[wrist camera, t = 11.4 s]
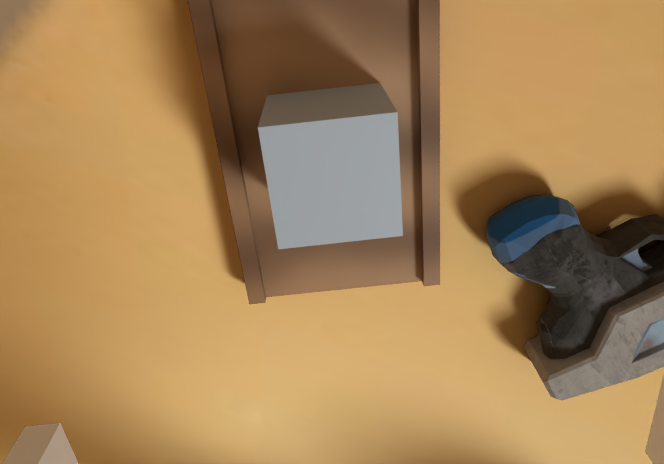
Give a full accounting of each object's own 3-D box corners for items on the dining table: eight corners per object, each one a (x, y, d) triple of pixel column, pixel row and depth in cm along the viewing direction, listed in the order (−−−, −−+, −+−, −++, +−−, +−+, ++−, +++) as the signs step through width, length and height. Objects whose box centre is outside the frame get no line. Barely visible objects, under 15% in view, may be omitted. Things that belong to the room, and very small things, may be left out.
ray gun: (472, 255, 30) (561, 416, 36) (821, 75, 26) (855, 290, 32) (453, 221, 34) (537, 372, 40) (756, 60, 30) (798, 255, 36)
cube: (386, 187, 31) (402, 235, 25) (283, 199, 31) (278, 249, 25) (380, 82, 28) (397, 112, 23) (266, 95, 28) (257, 127, 23)
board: (433, 269, 35) (439, 284, 33) (251, 288, 35) (249, 304, 33) (431, -60, 26) (439, -61, 24) (188, -34, 26) (181, -33, 25)
